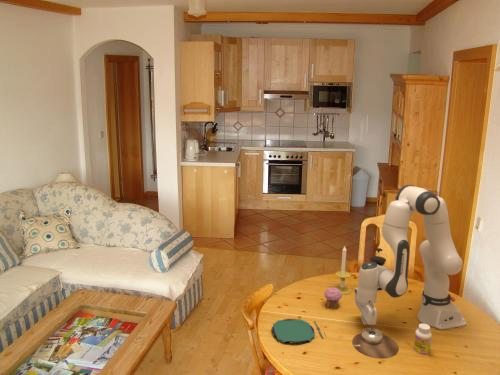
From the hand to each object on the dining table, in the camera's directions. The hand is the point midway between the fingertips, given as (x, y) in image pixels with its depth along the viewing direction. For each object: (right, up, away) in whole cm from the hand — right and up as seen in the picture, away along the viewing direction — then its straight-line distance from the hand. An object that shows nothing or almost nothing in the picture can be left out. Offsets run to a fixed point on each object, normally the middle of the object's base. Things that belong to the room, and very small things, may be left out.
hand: (364, 323), depth 215 cm
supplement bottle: (+21, -8, -16) cm, 28 cm away
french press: (+17, +7, +45) cm, 49 cm away
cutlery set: (-29, -5, -1) cm, 29 cm away
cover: (+1, -5, -9) cm, 10 cm away
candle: (-2, +6, +41) cm, 41 cm away
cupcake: (-11, +2, +23) cm, 26 cm away
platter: (+2, -7, -13) cm, 15 cm away
